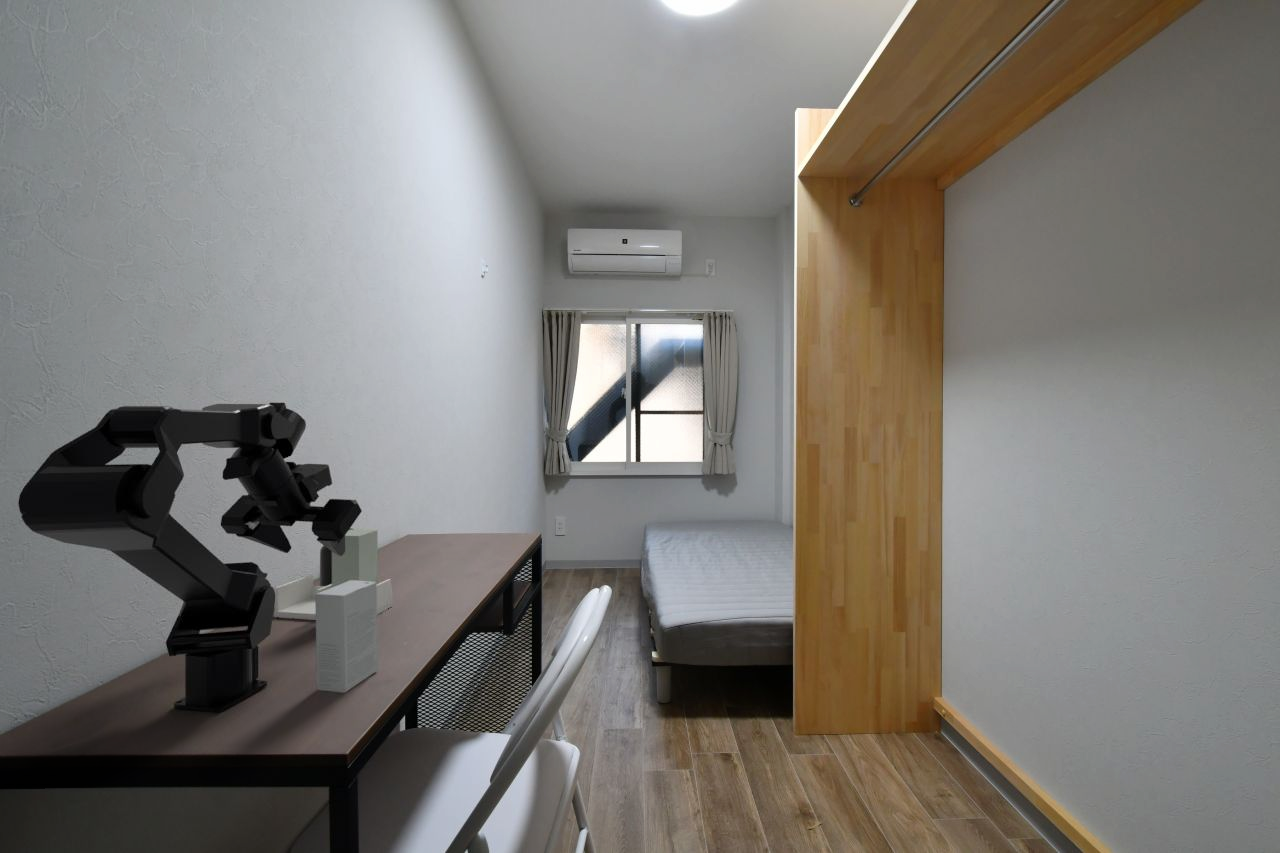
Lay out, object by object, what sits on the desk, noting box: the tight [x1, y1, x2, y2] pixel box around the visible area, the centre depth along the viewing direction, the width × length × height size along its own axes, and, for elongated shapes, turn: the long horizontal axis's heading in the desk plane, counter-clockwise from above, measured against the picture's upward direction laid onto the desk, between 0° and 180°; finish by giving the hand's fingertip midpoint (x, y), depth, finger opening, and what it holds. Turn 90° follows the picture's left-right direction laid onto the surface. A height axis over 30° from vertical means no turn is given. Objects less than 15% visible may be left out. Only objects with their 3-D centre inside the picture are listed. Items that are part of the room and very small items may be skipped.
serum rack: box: [273, 574, 393, 621], centre depth 92 cm, size 8×17×5 cm, turn 81°
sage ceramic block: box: [332, 529, 379, 587], centre depth 91 cm, size 5×5×13 cm
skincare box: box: [315, 580, 379, 694], centre depth 67 cm, size 6×4×12 cm
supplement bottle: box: [319, 527, 355, 586], centre depth 104 cm, size 7×7×12 cm
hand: (315, 552), depth 83 cm, fingers open, 9 cm apart
